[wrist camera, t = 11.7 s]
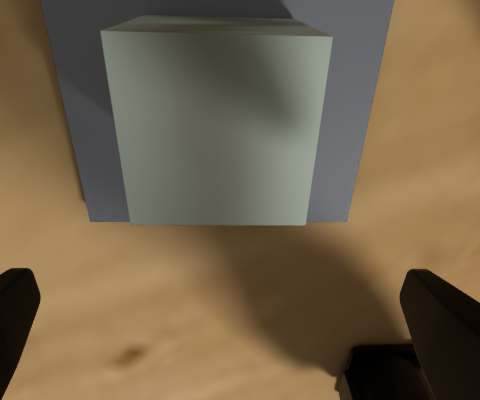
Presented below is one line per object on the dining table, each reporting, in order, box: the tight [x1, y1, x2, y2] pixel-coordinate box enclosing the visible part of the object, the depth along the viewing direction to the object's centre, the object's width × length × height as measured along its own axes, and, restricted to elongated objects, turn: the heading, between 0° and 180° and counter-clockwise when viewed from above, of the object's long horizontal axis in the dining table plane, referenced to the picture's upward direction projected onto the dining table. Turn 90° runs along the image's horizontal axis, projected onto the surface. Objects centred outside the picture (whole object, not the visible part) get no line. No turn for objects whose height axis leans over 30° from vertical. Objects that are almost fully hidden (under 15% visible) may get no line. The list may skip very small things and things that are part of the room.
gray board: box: [40, 0, 394, 222], centre depth 16 cm, size 14×14×1 cm
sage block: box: [100, 15, 333, 225], centre depth 13 cm, size 6×6×6 cm
